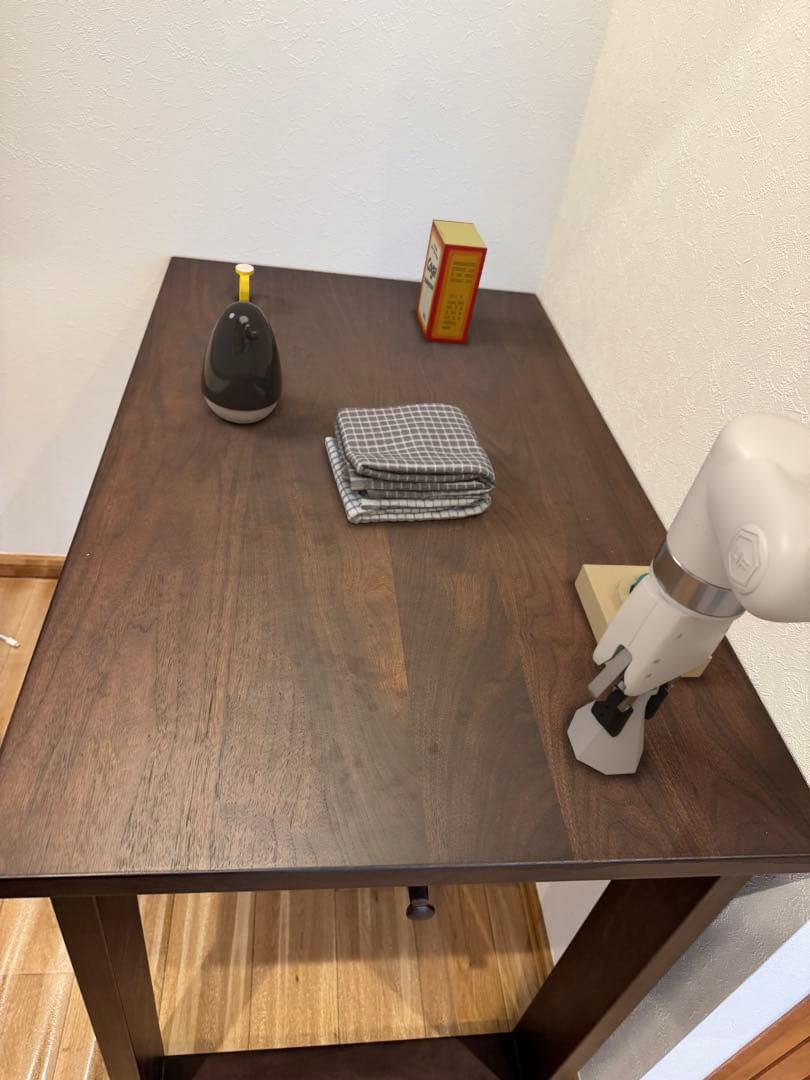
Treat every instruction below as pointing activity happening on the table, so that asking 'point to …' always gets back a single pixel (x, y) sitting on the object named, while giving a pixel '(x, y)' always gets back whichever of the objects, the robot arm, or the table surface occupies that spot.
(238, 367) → the black egg shape
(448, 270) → the baking soda box
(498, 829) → the table surface
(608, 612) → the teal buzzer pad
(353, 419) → the towel
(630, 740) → the flask
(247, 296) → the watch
